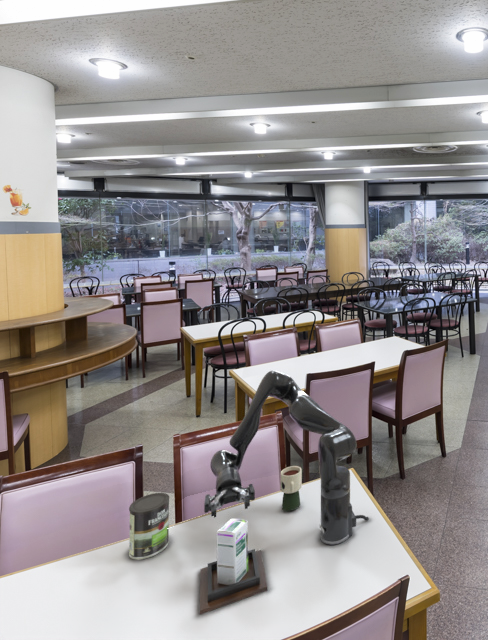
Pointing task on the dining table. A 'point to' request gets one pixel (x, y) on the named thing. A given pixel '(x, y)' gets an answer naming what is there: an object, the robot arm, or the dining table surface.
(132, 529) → the coffee can
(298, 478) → the character mug
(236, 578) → the syrup box
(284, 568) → the dining table surface
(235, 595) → the base pad
